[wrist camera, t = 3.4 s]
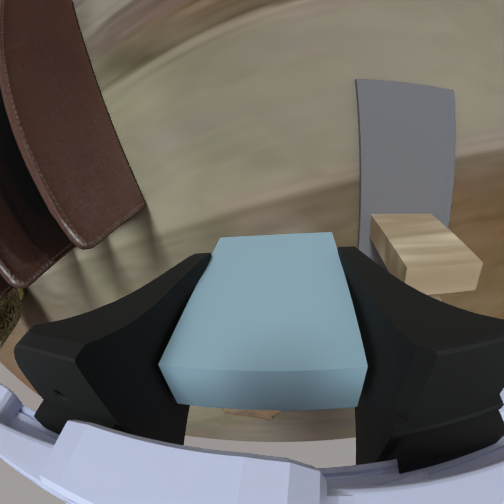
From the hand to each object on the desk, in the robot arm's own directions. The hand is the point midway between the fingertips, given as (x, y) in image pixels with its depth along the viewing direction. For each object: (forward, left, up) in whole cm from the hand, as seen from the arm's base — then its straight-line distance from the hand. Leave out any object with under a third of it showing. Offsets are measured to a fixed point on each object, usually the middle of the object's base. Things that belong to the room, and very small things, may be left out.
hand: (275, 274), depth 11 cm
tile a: (-8, +2, -9) cm, 12 cm away
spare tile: (0, 0, -2) cm, 2 cm away
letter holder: (+17, -9, -10) cm, 21 cm away
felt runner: (-9, +5, -9) cm, 14 cm away
